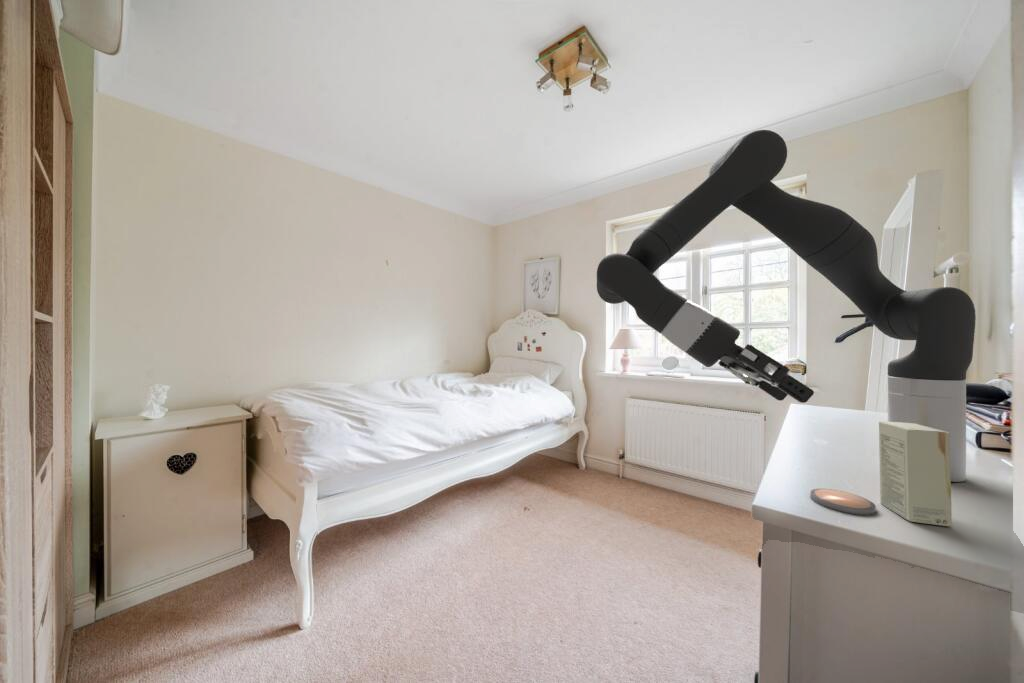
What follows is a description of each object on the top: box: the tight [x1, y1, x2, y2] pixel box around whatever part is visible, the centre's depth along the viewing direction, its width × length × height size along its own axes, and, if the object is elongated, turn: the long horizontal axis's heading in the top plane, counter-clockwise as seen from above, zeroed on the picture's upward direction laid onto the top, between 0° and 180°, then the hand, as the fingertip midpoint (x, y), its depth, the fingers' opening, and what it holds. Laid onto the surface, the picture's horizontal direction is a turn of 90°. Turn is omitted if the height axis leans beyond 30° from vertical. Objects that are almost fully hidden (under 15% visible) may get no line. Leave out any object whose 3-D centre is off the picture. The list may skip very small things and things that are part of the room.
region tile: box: [809, 488, 877, 516], centre depth 52 cm, size 7×7×1 cm
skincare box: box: [878, 420, 953, 528], centre depth 49 cm, size 6×4×12 cm
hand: (796, 397), depth 53 cm, fingers open, 8 cm apart
